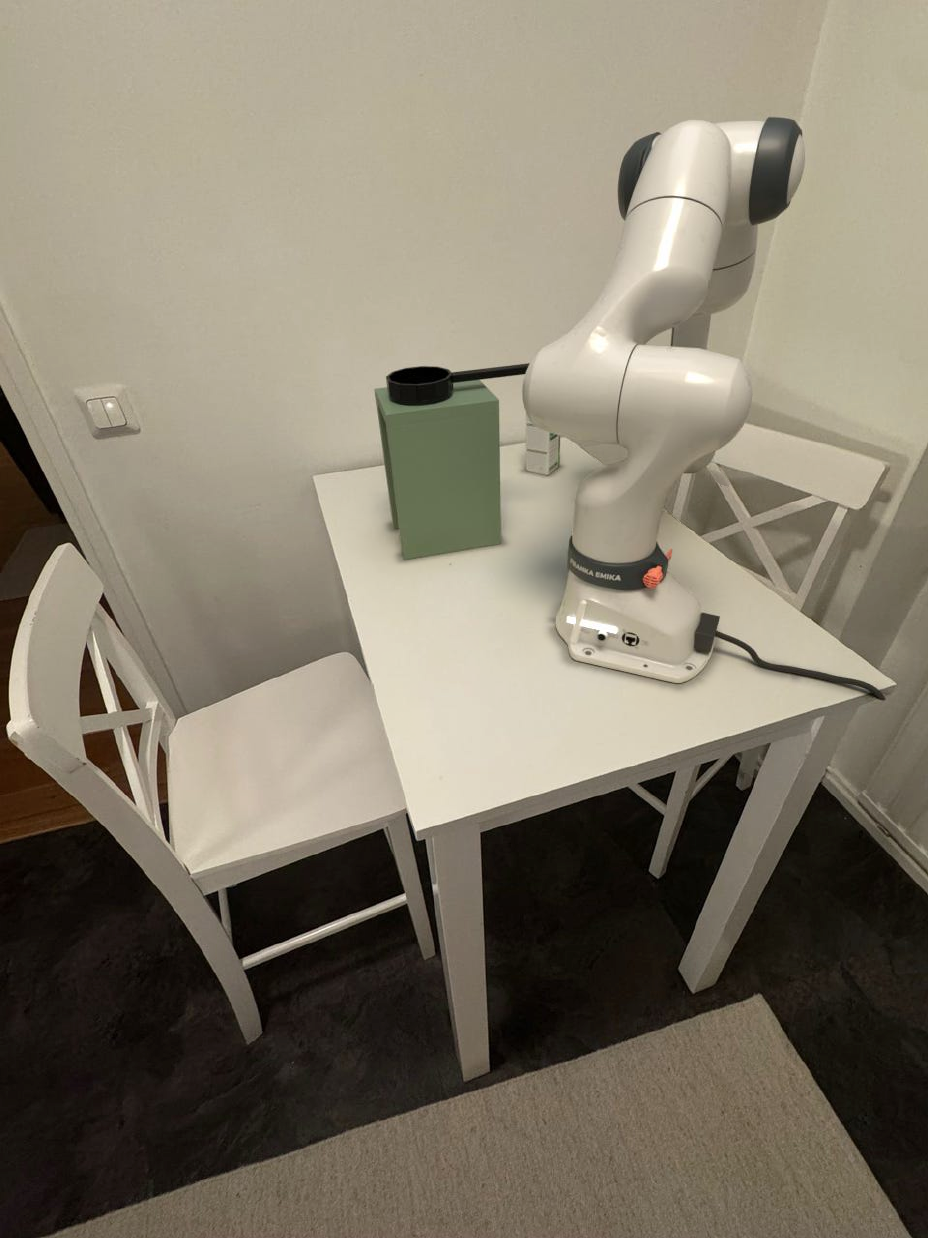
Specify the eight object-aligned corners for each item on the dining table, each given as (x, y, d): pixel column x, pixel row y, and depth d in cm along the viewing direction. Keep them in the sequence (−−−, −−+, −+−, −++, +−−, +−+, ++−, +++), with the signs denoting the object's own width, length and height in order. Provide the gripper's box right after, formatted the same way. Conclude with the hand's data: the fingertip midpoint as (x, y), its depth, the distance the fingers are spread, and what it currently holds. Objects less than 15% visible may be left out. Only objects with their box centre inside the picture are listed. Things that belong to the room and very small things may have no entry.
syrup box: (548, 475, 133) (550, 409, 124) (524, 470, 135) (525, 405, 127) (559, 466, 136) (562, 401, 128) (536, 461, 139) (538, 397, 130)
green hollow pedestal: (481, 510, 121) (476, 376, 106) (501, 543, 110) (499, 399, 95) (392, 524, 118) (374, 388, 103) (404, 560, 107) (385, 414, 92)
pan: (533, 372, 106) (534, 352, 104) (555, 388, 98) (556, 368, 96) (385, 390, 102) (382, 370, 100) (394, 409, 93) (391, 388, 91)
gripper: (624, 394, 118) (569, 364, 112) (678, 428, 102) (617, 395, 96) (606, 424, 121) (551, 396, 114) (656, 462, 105) (595, 432, 98)
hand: (582, 396), depth 105 cm, fingers open, 8 cm apart
